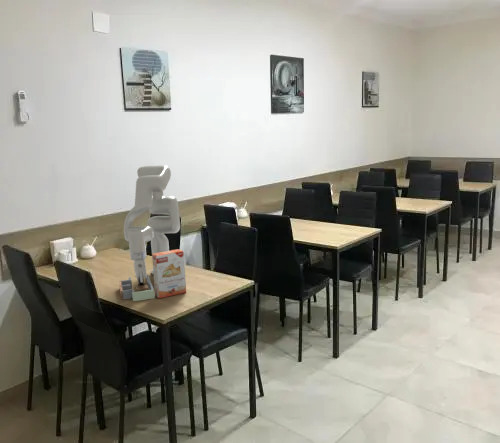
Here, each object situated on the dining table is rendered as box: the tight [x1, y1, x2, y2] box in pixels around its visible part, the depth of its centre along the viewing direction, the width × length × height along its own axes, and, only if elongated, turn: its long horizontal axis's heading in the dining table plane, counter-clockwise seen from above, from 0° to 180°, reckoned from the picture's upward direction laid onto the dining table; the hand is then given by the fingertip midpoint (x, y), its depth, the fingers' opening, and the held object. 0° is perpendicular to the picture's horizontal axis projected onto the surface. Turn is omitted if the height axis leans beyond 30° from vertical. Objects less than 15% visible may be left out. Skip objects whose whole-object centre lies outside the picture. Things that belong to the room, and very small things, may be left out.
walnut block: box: [136, 284, 149, 292], centre depth 230 cm, size 5×5×5 cm
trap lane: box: [118, 274, 156, 302], centre depth 238 cm, size 15×27×4 cm, turn 17°
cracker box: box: [151, 248, 187, 299], centre depth 230 cm, size 14×6×21 cm, turn 122°
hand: (142, 291), depth 235 cm, fingers closed
